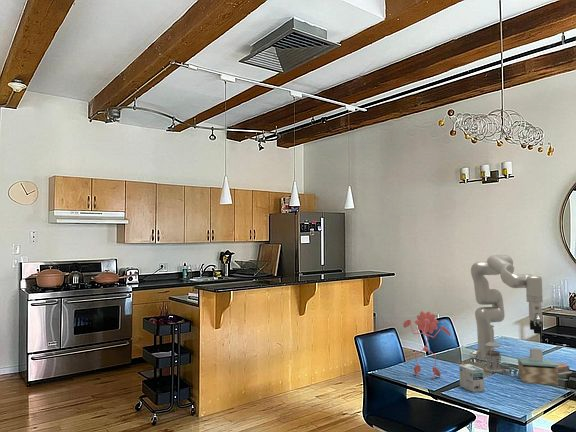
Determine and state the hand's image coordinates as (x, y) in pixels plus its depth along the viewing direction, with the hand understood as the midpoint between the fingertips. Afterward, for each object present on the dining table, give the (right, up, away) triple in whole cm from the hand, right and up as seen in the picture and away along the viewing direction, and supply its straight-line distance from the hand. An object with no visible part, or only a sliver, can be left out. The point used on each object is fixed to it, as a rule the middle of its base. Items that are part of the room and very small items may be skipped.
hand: (535, 331), depth 241 cm
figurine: (-54, -26, +8) cm, 61 cm away
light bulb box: (-39, -25, -14) cm, 49 cm away
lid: (0, -16, -1) cm, 16 cm away
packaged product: (+15, -26, +11) cm, 32 cm away
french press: (-14, -26, +18) cm, 35 cm away
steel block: (0, -15, -1) cm, 15 cm away
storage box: (0, -25, -2) cm, 25 cm away
